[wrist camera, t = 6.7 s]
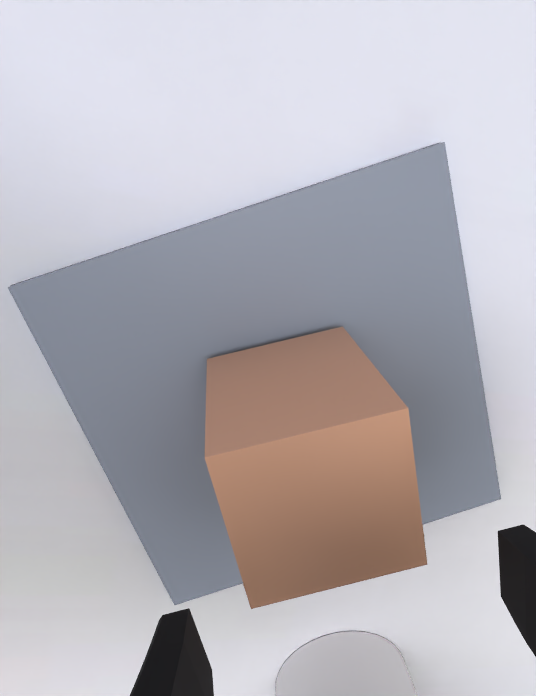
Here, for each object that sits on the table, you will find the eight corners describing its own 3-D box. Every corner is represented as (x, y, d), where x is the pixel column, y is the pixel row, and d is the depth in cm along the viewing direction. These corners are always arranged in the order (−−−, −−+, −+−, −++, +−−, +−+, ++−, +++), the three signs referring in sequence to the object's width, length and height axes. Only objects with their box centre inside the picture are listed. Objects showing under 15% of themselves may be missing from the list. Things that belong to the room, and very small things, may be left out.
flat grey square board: (175, 598, 23) (161, 766, 17) (12, 285, 18) (-106, 356, 11) (496, 493, 23) (607, 622, 17) (439, 142, 17) (575, 130, 11)
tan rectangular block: (239, 473, 20) (251, 608, 14) (206, 358, 18) (204, 457, 12) (361, 442, 20) (427, 564, 14) (342, 326, 18) (408, 407, 12)
